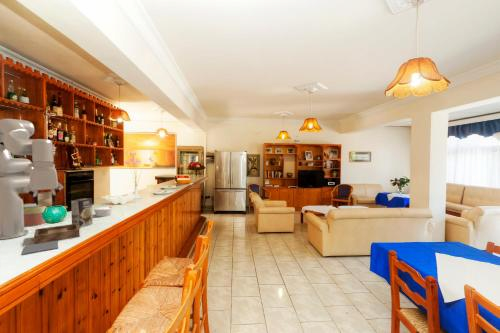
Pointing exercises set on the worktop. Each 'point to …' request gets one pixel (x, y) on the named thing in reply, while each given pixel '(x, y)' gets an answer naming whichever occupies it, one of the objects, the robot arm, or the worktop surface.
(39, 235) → the crate
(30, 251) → the mat
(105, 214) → the ramekin
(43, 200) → the maple block
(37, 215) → the canned food
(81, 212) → the coffee box
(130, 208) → the worktop surface
